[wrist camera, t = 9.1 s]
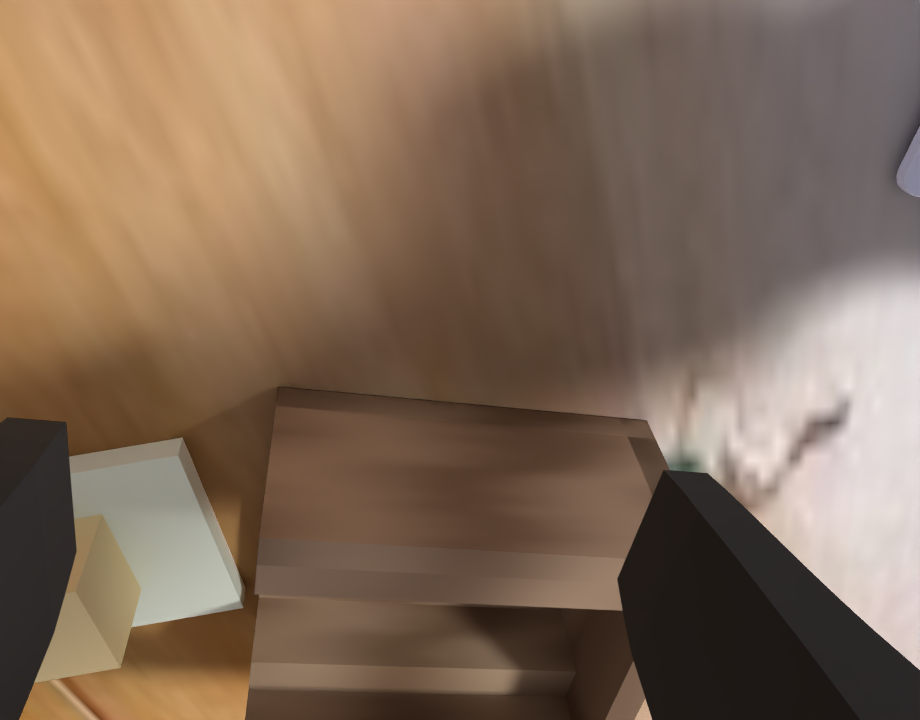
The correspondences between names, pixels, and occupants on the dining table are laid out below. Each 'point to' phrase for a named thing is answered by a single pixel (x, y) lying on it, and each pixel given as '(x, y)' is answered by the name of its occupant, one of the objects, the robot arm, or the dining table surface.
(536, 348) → the dining table surface
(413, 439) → the walnut box
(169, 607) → the cover plate
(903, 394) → the dining table surface
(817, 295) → the dining table surface
